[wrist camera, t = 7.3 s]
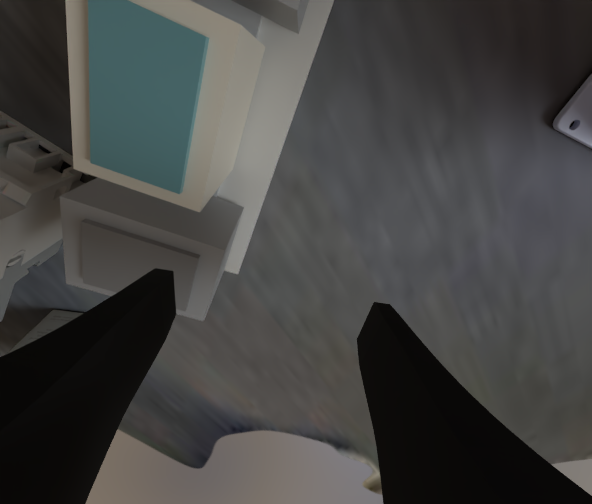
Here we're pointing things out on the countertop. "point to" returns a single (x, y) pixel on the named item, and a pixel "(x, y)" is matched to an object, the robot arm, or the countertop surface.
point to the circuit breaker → (29, 201)
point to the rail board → (229, 196)
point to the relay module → (158, 94)
